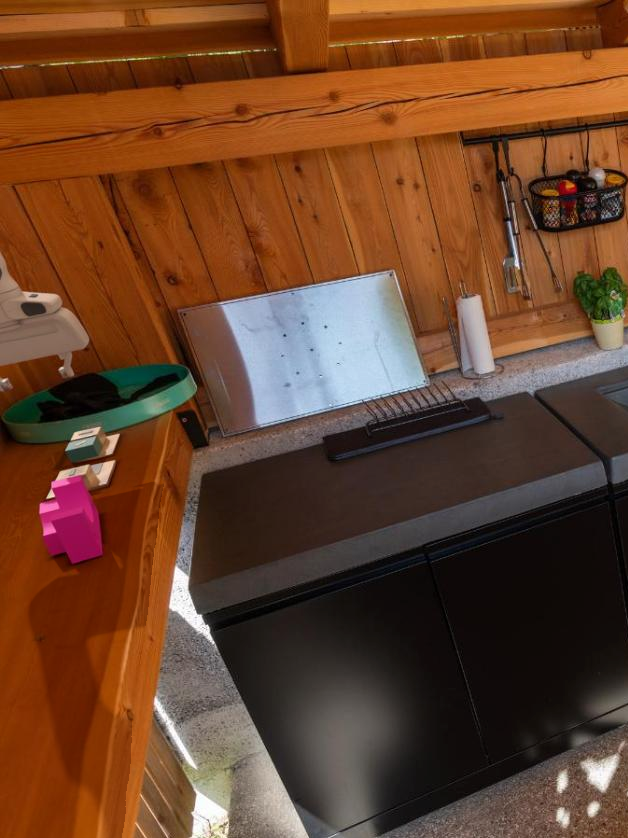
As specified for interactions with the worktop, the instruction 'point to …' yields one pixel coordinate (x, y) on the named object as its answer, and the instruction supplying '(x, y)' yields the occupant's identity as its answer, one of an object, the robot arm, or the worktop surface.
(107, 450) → the beige flat stepped block
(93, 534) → the toy block
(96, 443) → the teal slotted box
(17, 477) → the worktop surface
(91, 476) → the beige base plate
